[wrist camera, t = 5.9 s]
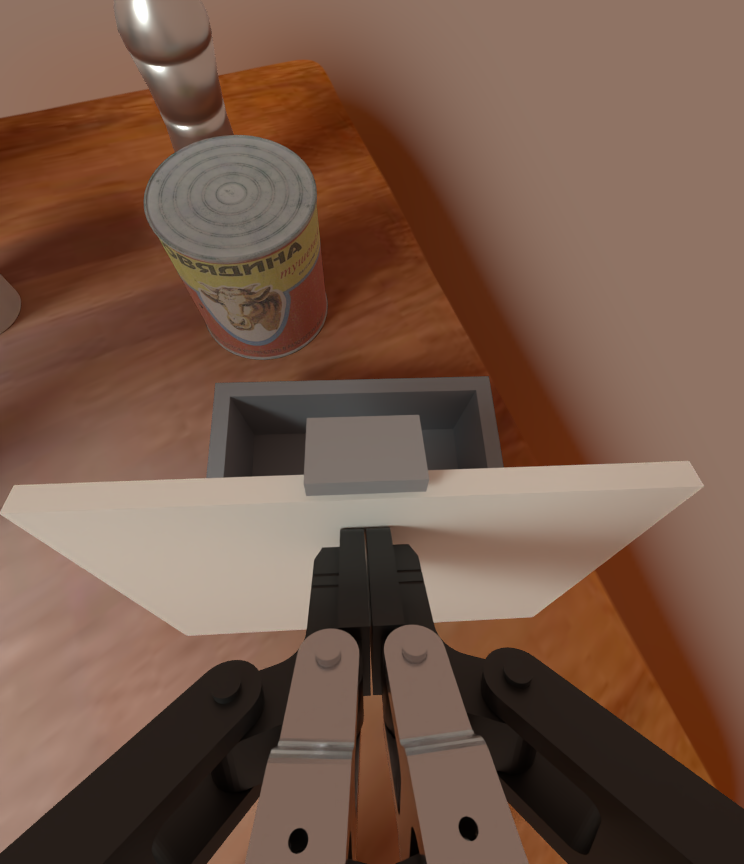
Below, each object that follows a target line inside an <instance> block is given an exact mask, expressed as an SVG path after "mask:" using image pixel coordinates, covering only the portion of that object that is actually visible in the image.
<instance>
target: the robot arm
mask: <svg viewBox="0 0 744 864" xmlns="http://www.w3.org/2000/svg"><path fill="white" fill-rule="evenodd" d="M370 648H371V666H372V683H373V695H382V702H383V731H384V738H385V745H386V751H387V758H388V765H389V772H390V779H391V785H392V792H393V799H394V806H395V813H396V820H397V828H398V840H399V853H400V862H398V863H396V864H529V863H528V860H527V857H526V854H525V852H524V849H523V846H522V843H521V840H520V837H519V834H518V832H517V829H516V826H515V823H514V820H513V817H512V814H511V812H510V809H509V806H508V803H509V804H510V805H511V806H512V807H513V808H514V809H515V810H516V811H517V812H518V813H519V814H520V815H521V816H522V817H523V818H524V819H525V820H526V821H527V822H528V823H529V824H530V825H531V826H532V827H533V828H534V829H535V830H536V831H537V832H538V833H539V834H540V836H541V837H542V838H543V839H544V840H545V841H546V842H547V843H548V844H549V845H550V846H551V847H552V848H553V849H554V850H555V851H556V852H557V853H558V854H559V855H560V856H561V857H562V858H563V859H564V860H565V861H566V862H567V863H568V864H744V809H743V808H742V807H740V806H739V805H737V804H736V803H735V802H733V801H732V800H731V799H729V798H728V797H726V796H725V795H724V794H722V793H721V792H719V791H718V790H717V789H715V788H714V787H713V786H711V785H710V784H709V783H707V782H706V781H704V780H703V779H702V778H700V777H699V776H698V775H696V774H695V773H693V772H692V771H691V770H689V769H688V768H687V767H685V766H684V765H682V764H681V763H680V762H678V761H677V760H675V759H674V758H673V757H671V756H670V755H669V754H667V753H666V752H664V751H663V750H662V749H660V748H659V747H658V746H656V745H655V744H653V743H652V742H651V741H649V740H648V739H647V738H645V737H644V736H642V735H641V734H640V733H638V732H637V731H636V730H634V729H633V728H631V727H630V726H629V725H627V724H626V723H625V722H623V721H622V720H620V719H619V718H618V717H616V716H615V715H614V714H612V713H611V712H609V711H608V710H607V709H605V708H604V707H602V706H601V705H600V704H598V703H597V702H596V701H594V700H593V699H591V698H590V697H589V696H587V695H586V694H585V693H583V692H582V691H580V690H579V689H578V688H576V687H575V686H574V685H572V684H571V683H569V682H568V681H567V680H565V679H564V678H563V677H561V676H560V675H558V674H557V673H556V672H554V671H553V670H552V669H550V668H549V667H547V666H546V665H545V664H543V663H542V662H541V661H539V660H538V659H536V658H535V657H534V656H532V655H530V654H529V653H527V652H525V651H522V650H519V649H515V648H500V649H497V650H495V651H493V652H491V653H490V654H489V655H488V656H487V658H486V659H482V658H478V657H474V656H470V655H466V654H463V653H460V652H458V651H456V650H454V649H452V648H451V647H449V646H448V645H447V644H445V643H444V642H443V641H442V639H441V638H440V637H439V635H438V634H437V632H436V630H435V626H434V622H433V618H432V614H431V609H430V605H429V601H428V596H427V592H426V587H425V584H424V579H423V574H422V572H421V566H420V561H419V557H418V555H417V554H416V552H415V551H414V550H413V549H412V548H411V546H410V545H409V544H396V545H393V543H392V536H391V530H390V527H385V528H366V552H365V536H364V528H361V529H340V547H322V549H321V550H320V552H319V553H318V555H317V556H316V558H315V559H314V565H313V577H312V584H311V593H310V603H309V612H308V622H307V631H306V637H305V639H304V641H303V643H302V644H301V646H300V648H299V649H298V651H297V652H296V653H295V654H294V655H293V656H291V657H290V658H289V659H287V660H285V661H284V662H282V663H279V664H277V665H274V666H271V667H268V668H266V669H263V670H260V671H258V669H257V668H256V667H255V666H254V665H252V664H251V663H249V662H246V661H242V660H232V661H227V662H224V663H221V664H219V665H217V666H215V667H213V668H212V669H210V670H209V671H208V672H207V673H205V674H204V675H203V676H202V677H201V678H200V679H199V680H197V681H196V682H195V683H194V684H193V685H192V686H191V687H189V688H188V689H187V690H186V691H185V692H184V693H183V694H181V695H180V696H179V697H178V698H177V699H176V700H175V701H173V702H172V703H171V704H170V705H169V706H168V707H167V708H166V709H164V710H163V711H162V712H161V713H160V714H159V715H158V716H156V717H155V718H154V719H153V720H152V721H151V722H150V723H148V724H147V725H146V726H145V727H144V728H143V729H142V730H140V731H139V732H138V733H137V734H136V735H135V736H134V737H132V738H131V739H130V740H129V741H128V742H127V743H126V744H124V745H123V746H122V747H121V748H120V749H119V750H118V751H117V752H115V753H114V754H113V755H112V756H111V757H110V758H109V759H107V760H106V761H105V762H104V763H103V764H102V765H101V766H99V767H98V768H97V769H96V770H95V771H94V772H93V773H91V774H90V775H89V776H88V777H87V778H86V779H85V780H83V781H82V782H81V783H80V784H79V785H78V786H77V787H75V788H74V789H73V790H72V791H71V792H70V793H69V794H68V795H66V796H65V797H64V798H63V799H62V800H61V801H60V802H58V803H57V804H56V805H55V806H54V807H53V808H52V809H50V810H49V811H48V812H47V813H46V814H45V815H44V816H42V817H41V818H40V819H39V820H38V821H37V822H36V823H34V824H33V825H32V826H31V827H30V828H29V829H28V830H26V831H25V832H24V833H23V834H22V835H21V836H20V837H19V838H17V839H16V840H15V841H14V842H13V843H12V844H11V845H9V846H8V847H7V848H6V849H5V850H4V851H3V852H1V853H0V864H207V863H208V861H209V860H210V859H211V858H212V856H213V855H214V854H215V853H216V851H217V850H218V849H219V847H220V846H221V845H222V844H223V842H224V841H225V840H226V839H227V837H228V836H229V835H230V833H231V832H232V831H233V830H234V828H235V827H236V826H237V825H238V823H239V822H240V821H241V820H242V818H243V817H244V816H245V814H246V813H247V812H248V811H249V809H250V808H251V807H252V806H253V804H254V803H255V802H256V800H257V799H258V798H259V802H258V806H257V811H256V815H255V820H254V824H253V829H252V833H251V838H250V842H249V847H248V851H247V856H246V860H245V864H365V863H362V862H358V861H357V818H358V794H359V771H360V747H361V728H362V725H363V718H364V710H363V696H370V695H371V692H370ZM507 802H508V803H507Z"/></svg>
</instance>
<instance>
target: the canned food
mask: <svg viewBox="0 0 744 864" xmlns="http://www.w3.org/2000/svg"><path fill="white" fill-rule="evenodd" d="M316 201H317V190H316V184H315V180H314V177H313V174H312V172H311V171H310V169H309V167H308V166H307V164H306V163H305V162H304V161H303V160H302V159H301V158H300V157H299V156H298V155H297V154H295V153H294V152H293V151H291V150H290V149H288V148H286V147H285V146H283V145H281V144H278V143H276V142H274V141H271V140H268V139H264V138H260V137H254V136H246V135H227V136H218V137H212V138H208V139H204V140H201V141H198V142H195V143H192V144H190V145H188V146H186V147H184V148H182V149H180V150H178V151H177V152H175V153H174V154H172V155H171V156H169V157H168V158H167V159H166V160H165V161H164V162H163V163H161V164H160V166H159V167H158V168H157V169H156V170H155V172H154V173H153V175H152V176H151V178H150V180H149V182H148V184H147V187H146V190H145V194H144V210H145V215H146V218H147V220H148V222H149V225H150V226H151V228H152V230H153V231H154V233H155V234H156V235H157V236H158V238H159V239H160V241H161V243H162V245H163V247H164V248H165V250H166V252H167V254H168V256H169V257H170V259H171V261H172V263H173V265H174V266H175V268H176V270H177V272H178V274H179V275H180V277H181V279H182V281H183V283H184V285H185V286H186V288H187V290H188V292H189V294H190V295H191V297H192V299H193V301H194V303H195V304H196V306H197V308H198V310H199V312H200V313H201V315H202V317H203V319H204V321H205V323H206V326H207V328H208V330H209V332H210V334H211V335H212V337H213V338H214V339H215V340H216V342H217V343H218V344H220V345H221V346H222V347H223V348H225V349H226V350H228V351H229V352H231V353H233V354H236V355H238V356H241V357H245V358H250V359H257V360H267V359H275V358H280V357H284V356H287V355H290V354H292V353H294V352H296V351H298V350H300V349H302V348H303V347H305V346H306V345H307V344H308V343H310V342H311V341H312V340H313V339H314V338H315V337H316V335H317V334H318V333H319V331H320V330H321V328H322V326H323V324H324V322H325V319H326V316H327V307H328V304H327V296H326V293H325V284H324V274H323V264H322V254H321V244H320V234H319V224H318V214H317V204H316Z"/></svg>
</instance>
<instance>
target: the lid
mask: <svg viewBox="0 0 744 864" xmlns="http://www.w3.org/2000/svg"><path fill="white" fill-rule="evenodd" d="M703 487H704V485H703V484H702V482H701V480H700V479H699V477H698V475H697V474H696V472H695V470H694V469H693V467H692V465H691V464H690V462H689V461H677V462H648V463H621V464H592V465H566V466H565V465H564V466H536V467H508V468H480V469H452V470H428V468H427V462H426V455H425V449H424V443H423V436H422V430H421V423H420V417H419V415H394V416H360V417H325V418H307V423H306V444H305V465H304V475H284V476H256V477H228V478H200V479H172V480H144V481H116V482H88V483H60V484H32V485H14V486H13V488H12V490H11V492H10V494H9V496H8V498H7V499H6V501H5V503H4V505H3V507H2V509H1V511H0V515H2V516H3V517H5V518H6V519H8V520H10V521H11V522H13V523H14V524H16V525H17V526H19V527H20V528H22V529H23V530H25V531H26V532H28V533H30V534H31V535H33V536H34V537H36V538H37V539H39V540H40V541H42V542H43V543H45V544H46V545H48V546H50V547H51V548H53V549H54V550H56V551H57V552H59V553H60V554H62V555H63V556H65V557H67V558H68V559H70V560H71V561H73V562H74V563H76V564H77V565H79V566H80V567H82V568H83V569H85V570H87V571H88V572H90V573H91V574H93V575H94V576H96V577H97V578H99V579H100V580H102V581H103V582H105V583H107V584H108V585H110V586H111V587H113V588H114V589H116V590H117V591H119V592H120V593H122V594H123V595H125V596H127V597H128V598H130V599H131V600H133V601H134V602H136V603H137V604H139V605H140V606H142V607H144V608H145V609H147V610H148V611H150V612H151V613H153V614H154V615H156V616H157V617H159V618H160V619H162V620H164V621H165V622H167V623H168V624H170V625H171V626H173V627H174V628H176V629H177V630H179V631H180V632H182V633H184V634H185V635H187V636H192V635H210V634H229V633H247V632H266V631H284V630H303V629H307V622H308V612H309V603H310V593H311V584H312V577H313V565H314V559H315V558H316V556H317V555H318V553H319V552H320V550H321V549H322V547H340V529H361V528H364V536H365V552H366V528H385V527H390V530H391V536H392V543H393V545H396V544H409V545H410V546H411V548H412V549H413V550H414V551H415V552H416V554H417V555H418V557H419V561H420V566H421V572H422V574H423V579H424V584H425V587H426V592H427V596H428V601H429V605H430V609H431V614H432V618H433V622H451V621H469V620H488V619H506V618H525V617H533V616H535V615H536V614H537V613H539V612H540V611H541V610H543V609H544V608H545V607H546V606H548V605H549V604H550V603H552V602H553V601H554V600H556V599H557V598H558V597H560V596H561V595H562V594H564V593H565V592H566V591H567V590H569V589H570V588H571V587H573V586H574V585H575V584H577V583H578V582H579V581H581V580H582V579H583V578H585V577H586V576H587V575H588V574H590V573H591V572H592V571H594V570H595V569H596V568H597V567H599V566H600V565H602V564H603V563H604V562H605V561H607V560H608V559H609V558H611V557H612V556H613V555H614V554H616V553H617V552H619V551H620V550H621V549H622V548H624V547H625V546H626V545H628V544H629V543H630V542H632V541H633V540H634V539H636V538H637V537H638V536H640V535H641V534H642V533H643V532H645V531H646V530H647V529H649V528H650V527H651V526H653V525H654V524H655V523H657V522H658V521H659V520H661V519H662V518H663V517H664V516H666V515H667V514H668V513H670V512H671V511H672V510H674V509H675V508H676V507H678V506H679V505H680V504H682V503H683V502H684V501H685V500H687V499H688V498H689V497H691V496H692V495H693V494H695V493H696V492H697V491H699V490H700V489H701V488H703Z"/></svg>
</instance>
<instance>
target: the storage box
mask: <svg viewBox="0 0 744 864" xmlns="http://www.w3.org/2000/svg"><path fill="white" fill-rule="evenodd" d="M394 415H419V417H420V423H421V430H422V436H423V443H424V449H425V455H426V462H427V468H428V470H452V469H480V468H504V466H503V460H502V454H501V448H500V441H499V435H498V429H497V423H496V417H495V411H494V405H493V399H492V393H491V387H490V380H489V376H481V377H440V378H400V379H359V380H319V381H278V382H237V383H215V393H214V403H213V414H212V424H211V435H210V445H209V456H208V466H207V477H206V478H228V477H256V476H284V475H304V465H305V444H306V423H307V418H325V417H360V416H394Z"/></svg>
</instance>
